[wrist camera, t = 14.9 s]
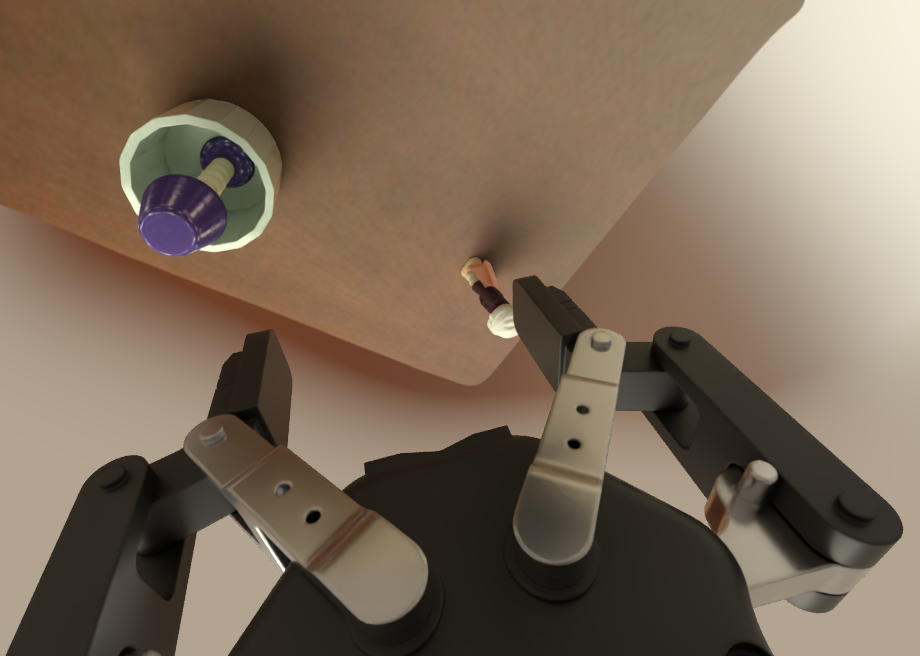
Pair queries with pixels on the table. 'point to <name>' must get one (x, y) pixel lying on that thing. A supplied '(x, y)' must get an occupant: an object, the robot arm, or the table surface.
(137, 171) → the glazed cup
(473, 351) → the table surface
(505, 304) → the grandmother figurine
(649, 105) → the table surface
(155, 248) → the toy lamp
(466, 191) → the table surface
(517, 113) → the table surface
